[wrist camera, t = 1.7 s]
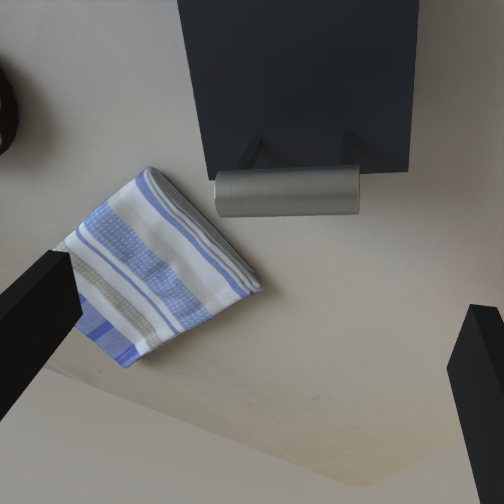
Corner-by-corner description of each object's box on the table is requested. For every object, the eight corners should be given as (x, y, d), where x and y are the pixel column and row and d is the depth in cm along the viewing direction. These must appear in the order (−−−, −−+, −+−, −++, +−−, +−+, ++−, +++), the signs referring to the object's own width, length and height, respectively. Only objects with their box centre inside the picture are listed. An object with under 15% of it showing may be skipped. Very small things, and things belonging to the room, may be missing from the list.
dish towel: (270, 281, 48) (266, 297, 45) (131, 361, 58) (122, 377, 56) (156, 155, 42) (145, 166, 40) (27, 268, 53) (12, 282, 51)
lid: (406, 167, 30) (430, 245, 21) (211, 176, 33) (163, 248, 24) (427, -160, 21) (479, -247, 13) (161, -109, 24) (61, -153, 16)
